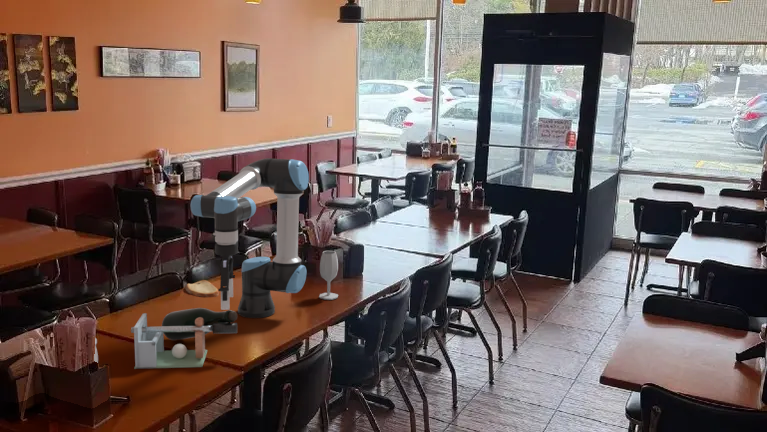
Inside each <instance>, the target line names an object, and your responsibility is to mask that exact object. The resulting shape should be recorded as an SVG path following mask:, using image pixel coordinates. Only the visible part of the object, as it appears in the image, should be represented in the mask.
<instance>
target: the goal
mask: <svg viewBox="0 0 767 432" xmlns="http://www.w3.org/2000/svg"><path fill="white" fill-rule="evenodd" d="M147 315H148V313H146V312H145V313H142V314H141V316H140V317H139V319H138V320H137V322H136V323H135V325H134V326H133V327H134V333H133V336H134V338H133V339H134V341H133V342H134V362H135V364H134V365H136V367H137V368H140V367H143V368H140V369H149V368H148V367H151V368H150V369H155V368H154V367H156V366H157V356H156V352H164V351H165V342H164V341H165V340H164V333H163V332H154V333H142V327H148V316H147ZM146 367H147V368H146Z"/></svg>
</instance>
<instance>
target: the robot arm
mask: <svg viewBox="0 0 767 432" xmlns="http://www.w3.org/2000/svg"><path fill="white" fill-rule="evenodd" d="M309 176H310V175H309V171H308V166H306V164H305V163H304V162H303V161H301V160H297V159H289V158H271V157H270V158H269V157H268V158H262V159H258V160H256V161H253V162H251V163H249V164H247V165H245V166H244V167H242V168H241V169H240V171H239V172H238V174H236V175H235V176H233V177H232V178H231V179H229V180H227V181H226V182H224V183H222V185H220V186H218V187H217V188H215V189H214V190H212V191H211V192H209V193H207V194H206V195H203V194H201V195H199V194H198V195H197V194H196V195H194V196H193V197H192V198H191V201H190V211H191V213H192V215H193V216H196V217H201V218H213V219H214V232H213V233H212V235H213V236H215V237H214V241H215V244H214V253H215V255H217V256H221V257H222V258H221V259H220V261H219V263H220V287H219V288H217V289H218V292H220V310H222V311H223V310H225V311H228V310H230V306H231V305H230V298H234V279H235V278H236V275H235V273H234V258H233V256H235V255H238V253H239V243H238V241H239V226H238V225H239V223H238V222H241V221H244V220H248V219H250V218H251V217H253V216H254V214H255V213H256V211H257V205H256V203H255V201H254V200H253V199H252V198H251V197H249V196H244V195H246V193H248V192H249V191H251V190H253V191H254V190H256V189H258V188H272V189H273V194H274V195H275V196H276V198H277V200H276V201H277V202H276V203H277V204H276V205H277V206H276V207H277V209H276V210H277V211H276V212H277V215H276V255H275V256H274V257H273V259H272V261H271V258H270V257H269V256H255V257H250V258H247V259H245V260H243V262H242V264H241V297H240V300H239V304H238V307H237V315H239V316H241V317H242V318H249V319H261V318H262V319H263V318H267V317H269V316H273V315H274V314H275V312H276V311H275V309H276V307H275V303H274V300H273V298H272V294H271V292H280V293H286V294H298V293H299V292H300V291H301V290H302V289H303V287H304V285H305V282H306V279H307V267H306V266H305V265H304V264H302V258H300V257H299V215H300V213H299V210H300V197H301V196H302V195H304V191H305V190H306V189H307V188H308V187H309V179H310V177H309Z"/></svg>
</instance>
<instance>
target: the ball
mask: <svg viewBox="0 0 767 432" xmlns="http://www.w3.org/2000/svg"><path fill="white" fill-rule="evenodd" d="M171 350H172V354H173V356H174V357H175V358H178V359H180V358H183V357H184V356H185V355H186V353H187V350H188V349H187V347H186V345H185V344H182V343H177V344H175V345H174V346H173V347H172V348H171Z"/></svg>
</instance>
